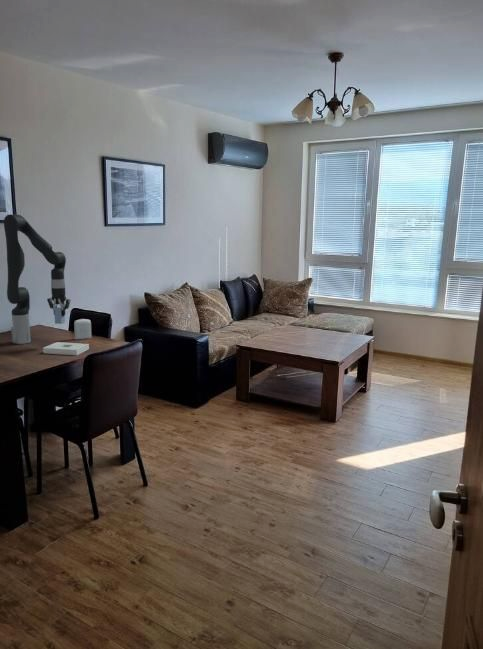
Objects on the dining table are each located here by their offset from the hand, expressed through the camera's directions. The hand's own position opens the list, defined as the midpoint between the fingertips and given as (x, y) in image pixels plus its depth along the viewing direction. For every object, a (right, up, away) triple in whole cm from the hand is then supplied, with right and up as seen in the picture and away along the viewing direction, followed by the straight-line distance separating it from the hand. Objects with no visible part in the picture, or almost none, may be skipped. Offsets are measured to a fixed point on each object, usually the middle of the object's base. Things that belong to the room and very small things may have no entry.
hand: (59, 315), depth 280 cm
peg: (0, -4, +1) cm, 4 cm away
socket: (+8, -20, -10) cm, 24 cm away
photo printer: (+7, -14, +21) cm, 26 cm away
